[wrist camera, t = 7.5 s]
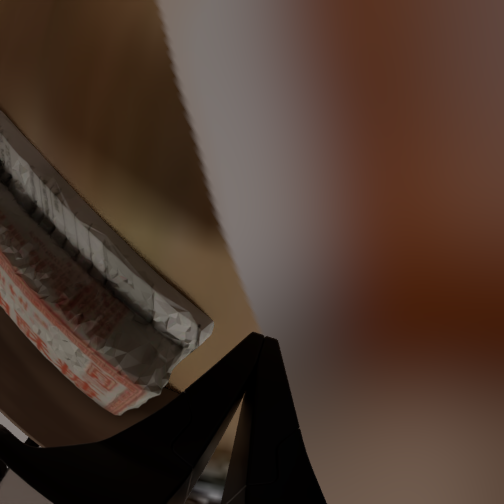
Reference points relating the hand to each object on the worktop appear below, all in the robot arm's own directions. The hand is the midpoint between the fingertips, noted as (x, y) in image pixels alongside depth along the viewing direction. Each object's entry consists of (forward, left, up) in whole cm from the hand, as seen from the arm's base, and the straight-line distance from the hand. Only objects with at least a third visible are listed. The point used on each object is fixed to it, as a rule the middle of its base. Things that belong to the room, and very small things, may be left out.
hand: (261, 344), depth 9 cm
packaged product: (-3, +12, -4) cm, 13 cm away
